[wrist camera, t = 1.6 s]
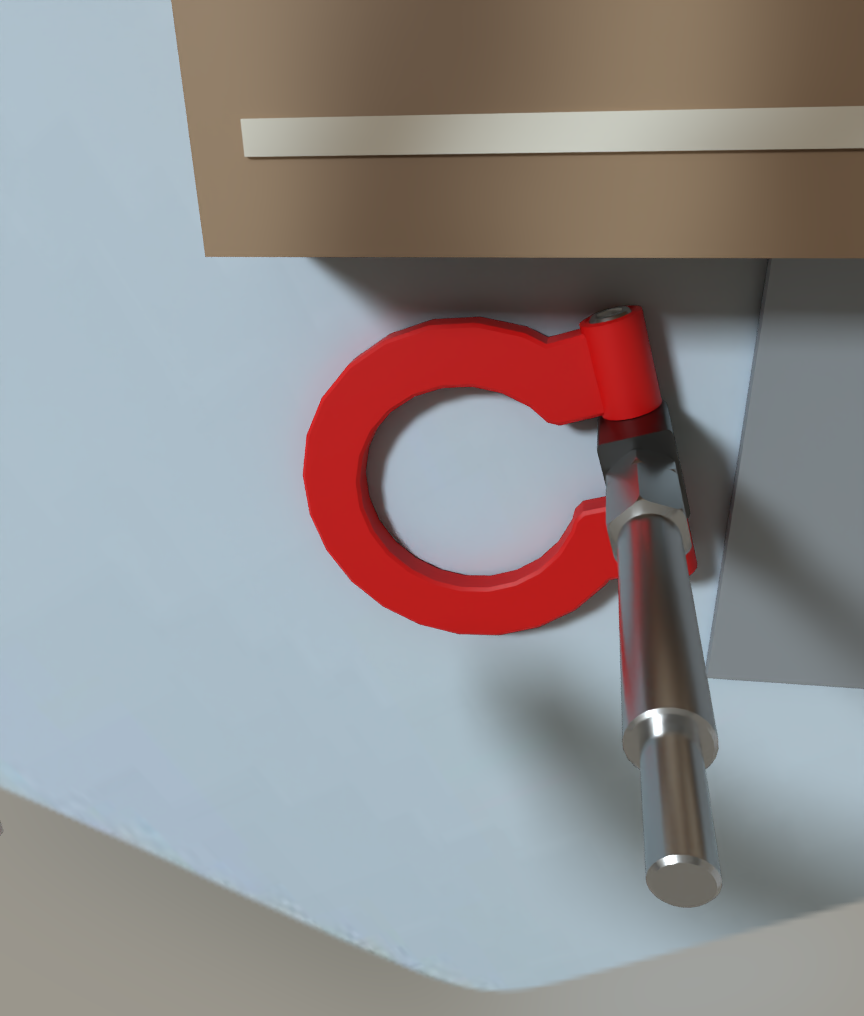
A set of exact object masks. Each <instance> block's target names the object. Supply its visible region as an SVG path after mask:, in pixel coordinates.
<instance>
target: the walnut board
mask: <svg viewBox="0 0 864 1016" xmlns="http://www.w3.org/2000/svg"><path fill="white" fill-rule="evenodd" d="M171 2H172V9H173V17H174V24H175V32H176V39H177V47H178V54H179V62H180V69H181V77H182V84H183V92H184V99H185V107H186V114H187V122H188V129H189V137H190V144H191V152H192V159H193V167H194V174H195V182H196V189H197V197H198V204H199V212H200V219H201V227H202V234H203V242H204V249H205V257H510V258H864V0H171Z"/></svg>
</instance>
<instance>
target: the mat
mask: <svg viewBox="0 0 864 1016" xmlns="http://www.w3.org/2000/svg"><path fill="white" fill-rule="evenodd" d="M706 674H707V678H713V679H728V680H743V681H757V682H772V683H786V684H801V685H816V686H830V687H845V688H860V689H864V258H769V259H768V266H767V272H766V279H765V285H764V292H763V298H762V305H761V311H760V318H759V324H758V331H757V337H756V344H755V350H754V357H753V363H752V370H751V376H750V383H749V389H748V396H747V402H746V409H745V415H744V422H743V428H742V435H741V441H740V448H739V454H738V461H737V467H736V474H735V480H734V487H733V493H732V500H731V506H730V513H729V519H728V526H727V532H726V539H725V545H724V552H723V558H722V564H721V571H720V577H719V584H718V590H717V597H716V603H715V610H714V616H713V623H712V629H711V636H710V642H709V649H708V655H707V662H706Z"/></svg>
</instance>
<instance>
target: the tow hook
mask: <svg viewBox="0 0 864 1016" xmlns="http://www.w3.org/2000/svg"><path fill="white" fill-rule="evenodd" d="M579 326H580V329H577V330H574V331H570V332H566V333H562V334H559V335H555V336H551V337H547V336H545V335H543V334H541V333H539V332H537V331H535V330H533V329H531V328H529V327H527V326H522V325H517V324H513V323H508V322H503V321H498V320H494V319H489V318H484V317H464V318H446V319H432V320H429V321H426V322H423V323H420V324H417V325H415V326H412V327H409V328H406V329H403V330H400V331H397V332H394V333H391V334H389V335H388V336H386V337H385V338H383V339H382V340H380V341H379V342H378V343H376V344H375V345H373V346H372V347H370V348H369V349H368V350H366V351H365V352H363V353H362V354H360V355H359V356H357V357H356V358H355V359H354V360H353V361H352V362H351V363H350V364H349V365H348V366H347V367H346V368H345V370H344V371H343V372H342V373H341V375H340V376H339V377H338V378H337V380H336V381H335V382H334V383H333V385H332V386H331V387H330V388H329V390H328V391H327V392H326V393H325V395H324V396H323V397H322V399H321V401H320V404H319V406H318V409H317V411H316V414H315V416H314V419H313V421H312V424H311V426H310V428H309V431H308V433H307V437H306V447H305V458H304V468H303V479H304V484H305V490H306V496H307V501H308V507H309V512H310V515H311V518H312V520H313V522H314V524H315V526H316V528H317V531H318V533H319V535H320V537H321V539H322V541H323V544H324V546H325V548H326V550H327V551H328V553H329V554H330V555H331V556H332V558H333V559H334V560H335V561H336V563H337V564H338V565H339V566H340V568H341V569H342V570H343V571H344V573H345V574H346V575H347V576H348V578H349V579H350V580H351V581H352V582H353V583H354V584H355V585H357V586H358V587H359V588H360V589H362V590H363V591H364V592H365V593H367V594H368V595H369V596H371V597H372V598H373V599H374V600H376V601H377V602H378V603H379V604H381V605H382V606H383V607H385V608H387V609H389V610H391V611H393V612H395V613H397V614H399V615H401V616H403V617H406V618H408V619H410V620H412V621H414V622H416V623H418V624H420V625H424V626H428V627H432V628H436V629H440V630H444V631H448V632H452V633H456V634H474V635H503V634H508V633H513V632H518V631H523V630H528V629H533V628H537V627H541V626H543V625H545V624H547V623H549V622H551V621H553V620H555V619H558V618H560V617H562V616H564V615H566V614H568V613H570V612H573V611H575V610H576V609H577V608H579V607H580V606H581V605H582V604H583V603H585V602H586V601H587V600H588V599H589V598H591V597H592V596H593V595H594V594H595V593H597V592H598V591H599V590H600V589H601V588H603V587H604V586H605V585H606V584H607V583H608V581H609V580H613V579H618V595H619V633H620V671H621V710H622V742H623V750H624V752H625V754H626V756H627V758H628V760H629V761H630V762H631V763H632V764H633V765H634V766H635V767H636V768H638V769H639V770H640V774H641V793H642V812H643V831H644V851H645V870H646V883H647V885H648V888H649V890H650V891H651V892H652V893H653V894H654V895H655V896H656V897H657V898H659V899H660V900H662V901H664V902H666V903H668V904H671V905H673V906H678V907H687V908H691V907H697V906H701V905H703V904H706V903H708V902H710V901H711V900H713V899H714V898H715V897H716V896H717V895H718V894H719V893H720V890H721V887H722V878H721V871H720V864H719V858H718V851H717V844H716V838H715V831H714V824H713V818H712V811H711V804H710V798H709V791H708V784H707V778H706V771H705V769H706V768H708V767H709V766H710V765H711V763H712V762H713V761H714V759H715V758H716V755H717V752H718V749H719V748H718V736H717V730H716V725H715V719H714V713H713V708H712V702H711V696H710V691H709V685H708V679H707V674H706V668H705V662H704V657H703V651H702V645H701V640H700V634H699V628H698V623H697V617H696V612H695V606H694V600H693V595H692V589H691V583H690V578H689V576H690V575H691V574H692V573H693V572H694V571H695V570H696V568H697V560H696V555H695V550H694V546H693V541H692V537H691V532H690V527H689V523H688V517H689V515H690V510H689V505H688V500H687V495H686V490H685V485H684V480H683V476H682V471H681V466H680V462H679V457H678V452H677V448H676V443H675V438H674V434H673V429H672V424H671V420H670V415H669V410H668V406H667V404H666V402H665V401H664V400H663V399H662V398H661V393H660V389H659V384H658V380H657V375H656V370H655V366H654V361H653V357H652V352H651V347H650V343H649V338H648V333H647V329H646V324H645V320H644V315H643V310H642V307H641V306H638V305H628V306H619V307H614V308H610V309H606V310H603V311H600V312H598V313H596V314H594V315H591V316H590V317H588V318H586V319H584V320H583V321H581V322H580V324H579ZM455 387H476V388H480V389H485V390H489V391H494V392H499V393H503V394H505V395H507V396H509V397H511V398H513V399H515V400H517V401H519V402H521V403H523V404H525V405H527V406H529V407H530V408H532V409H533V410H534V411H535V412H536V413H537V414H538V415H540V416H541V417H542V418H543V419H544V420H545V421H546V422H548V423H551V424H556V425H564V424H568V423H573V422H577V421H581V420H586V419H590V418H594V417H598V416H599V418H598V435H597V452H598V456H599V460H600V464H601V468H602V472H603V476H604V480H605V484H606V496H605V497H600V498H595V499H590V500H585V501H583V502H582V503H581V504H580V505H579V506H578V507H577V508H576V509H575V511H574V515H573V519H572V521H571V522H570V524H569V526H568V527H567V529H566V530H565V532H564V534H563V535H562V537H561V538H560V540H559V541H558V542H557V543H556V544H555V545H554V546H553V547H552V548H551V549H549V550H548V551H547V552H546V553H545V554H544V555H543V556H542V557H541V558H539V559H537V560H535V561H533V562H531V563H529V564H527V565H525V566H523V567H522V568H520V569H518V570H514V571H510V572H505V573H501V574H496V575H492V576H478V575H461V574H457V573H453V572H449V571H445V570H441V569H438V568H436V567H434V566H432V565H430V564H428V563H426V562H424V561H422V560H420V559H418V558H416V557H414V556H413V555H412V554H411V553H409V552H408V551H407V550H406V549H405V548H403V547H402V546H401V545H400V544H398V543H397V542H396V541H395V540H394V539H393V537H392V536H391V535H390V533H389V532H388V531H387V530H386V528H385V527H384V526H383V524H382V523H381V522H380V520H379V518H378V516H377V513H376V511H375V509H374V506H373V504H372V502H371V500H370V497H369V491H368V484H367V477H366V466H367V459H368V452H369V446H370V444H371V442H372V439H373V437H374V435H375V433H376V430H377V428H378V426H379V425H380V424H381V423H382V422H383V421H384V419H385V418H386V417H387V416H388V415H389V414H390V412H391V411H393V410H395V409H396V408H398V407H399V406H401V405H402V404H404V403H405V402H407V401H409V400H410V399H412V398H413V397H415V396H418V395H421V394H425V393H428V392H431V391H434V390H437V389H441V388H455Z"/></svg>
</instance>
